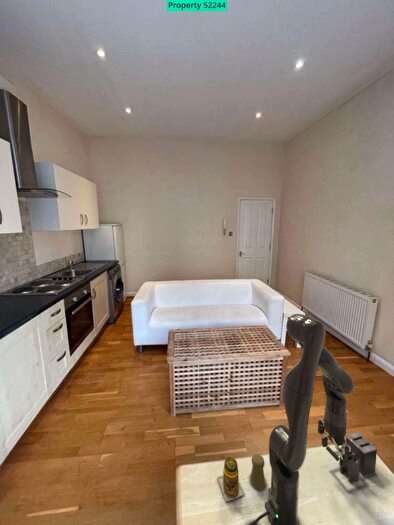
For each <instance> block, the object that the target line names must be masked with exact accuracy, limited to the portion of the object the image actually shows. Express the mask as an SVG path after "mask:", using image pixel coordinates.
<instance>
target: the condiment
mask: <svg viewBox="0 0 394 525" xmlns="http://www.w3.org/2000/svg"><path fill="white" fill-rule="evenodd" d="M223 464H224V466H223V471H222V477H220V478H218V480H217V481H218V483H219V485H220V488H221V491H222V494H223V496H224V500H225V501H226V502H230V501H233V500H235V499H238V498H240V497H242V496H244V493H243V491H242V488H241V487H240V484H239V472H240V471H239V466H238V461H237V459H235V458H233V457H231V456H229V457H227V458H225V460H224V463H223Z"/></svg>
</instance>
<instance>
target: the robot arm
mask: <svg viewBox="0 0 394 525" xmlns="http://www.w3.org/2000/svg"><path fill="white" fill-rule="evenodd" d="M285 328H286V332H287V334H288V336H290V337H291V338H292V339H293V340H294V342H296V343H297V344H298V345H299V346H300V347H301V348H302V353H301V356H300V359H299V361H298V362H297V363H296V364H295V365H293V366H292V367H291V368H290V369H289V370H288V371H287V372H286V374H285V375H284V380H283V386H282V402H283V406H284V411H285V415H286V419H287V423H288V424H287V426H288V427H287V426H286V425H284V424H279V425H276V426H275V427H274V428H273V429H272V430H271V432H270V434H269V438H268V439H269V440H268V458H269V459H268V462H269V466H270V469H271V471H270V472H271V473H270V487H269V488H268V490H267V491H268V496H267V500H266V501H264V509H265V512H263V513H262V514H260V515H259V516H258V517H256V519H255V520H253V521H251V522H250V523H249V524H248V525H256V524H258V523H259V522H260V520H262V519H263V518H265V517H267V516H268V517H269V520H270V522H271V524H272V525H298V524H299V521H298V520H299V519H298V517H299V516H298V514H299V511H298V510H299V491H300V490H299V489H300V471H299V470H301V468H302V467H303V466H304V463H305V460H306V455H307V450H308V449H307V446H308V429H309V420H310V413H311V407H312V402H313V398H314V391H315V390H314V389H315V383H316V376H317V371H318V370H319V371H320V373H321V380H322V386H323V389H324V393H325V406H324V417H323V418H321V419H318V423H317V433H318V434H320V437H321V446H322V447H323V448H326V447H327V446H328V444H329V441H330V442H331V443H332V445H333V446H334V447H335V450H336V452H339V455H340V456H339V461H338V463H339V464H338V465H339V467H340V466H341V467H344V466H346V463H347V462H350V461H352V456H353V447H352V446H351V445H348V444H347V443H346V435H347V425H348V424H347V423H348V415H347V408H348V400H347V397H346V396H345V395H350V394H352V393H353V391H354V389H355V383H354V380H353V378H352V376H351V375H350V374H349V373H348V372H347V371H346V370H344V368H342V366H341V365H339V362H338V361H337V359H336V358H335V356H334V355H333V354H332V353H331V351H329V350H328V349H327V348H326V347H325V346H324V344H325V341H326V340H325V339H326V333H327V331H326V326H325V324H324V323H323V322H322V321H320V320H317V319H315V318H313V317H310V316H307V315H305V314H300V313H295V314H292V315H290V316H289V318H288V319H287V321H286V326H285ZM342 451H343V454H342Z"/></svg>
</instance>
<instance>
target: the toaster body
mask: <svg viewBox="0 0 394 525" xmlns="http://www.w3.org/2000/svg"><path fill="white" fill-rule="evenodd" d="M345 442H346V443H347V444H348V445H351V446H352V447H353V453H354V454H357V453H358V454H359V455H360V467H359V475H361V476H362V477H366V476H368V475H371V474H373V473H375V472H376V465H377V453H378V448H377V446H375V445H374V444H373V443H371V442H370V441H369V440H368V439H367V438H366V437H365V436H364V435H362V434H361V433H360V432H359V431H356V432H353V433H350V434H346V435H345Z"/></svg>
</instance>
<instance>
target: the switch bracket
mask: <svg viewBox="0 0 394 525" xmlns="http://www.w3.org/2000/svg"><path fill="white" fill-rule="evenodd" d="M342 452H343V451H342ZM359 467H360V455H359V454H358V453H357V454H354V455H353V456H352V461H350V462H347V463H346V466H344V467H341V466H340V465H339V472H340V474H344V473H348V480H347V482H348V483H349V484H350V485H351V484H353V483H356V482H359V480H360V473H359Z"/></svg>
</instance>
